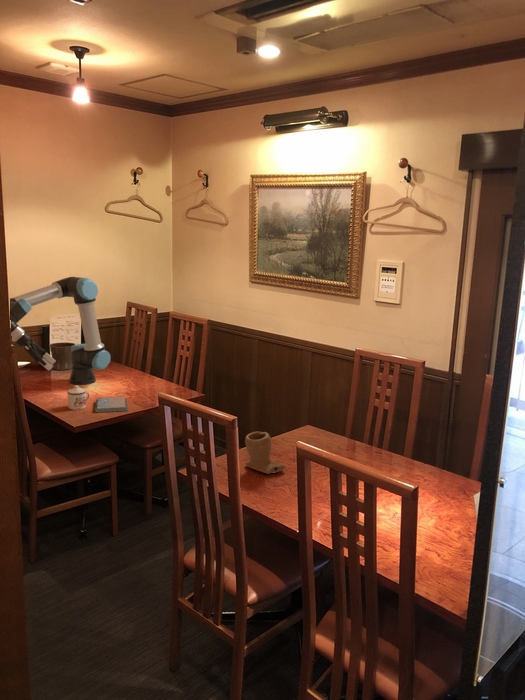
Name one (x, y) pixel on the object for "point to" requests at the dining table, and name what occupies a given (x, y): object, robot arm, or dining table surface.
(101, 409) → the press bed
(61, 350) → the plant pot
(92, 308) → the robot arm
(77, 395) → the teacup with lid
